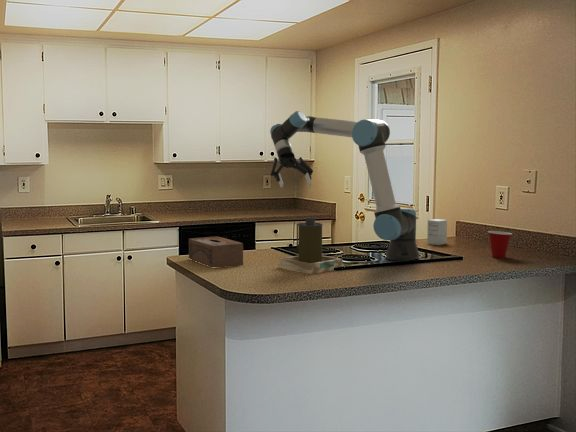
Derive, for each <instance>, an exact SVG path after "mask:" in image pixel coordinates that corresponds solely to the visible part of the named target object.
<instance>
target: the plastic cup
mask: <svg viewBox="0 0 576 432" xmlns="http://www.w3.org/2000/svg"><path fill="white" fill-rule="evenodd" d="M487 233H488V237H489V244H490V245H489V246H490V251H491V256H492V258H496V259H505V258H506V256H507V250H508V248H509V247H508V246H509V243H510V238H511V236H512V235H513V233H512V232H508V231H498V230H487Z"/></svg>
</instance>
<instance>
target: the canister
mask: <svg viewBox="0 0 576 432" xmlns="http://www.w3.org/2000/svg"><path fill="white" fill-rule="evenodd" d="M317 219H318V218H316V217H311V216H310V217H306V219H305V222H298V223H296V249H298V256H299V261H300V262H306V263H316V262H322V255H323V225H324V224H323V223H321V222H316V220H317Z"/></svg>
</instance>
